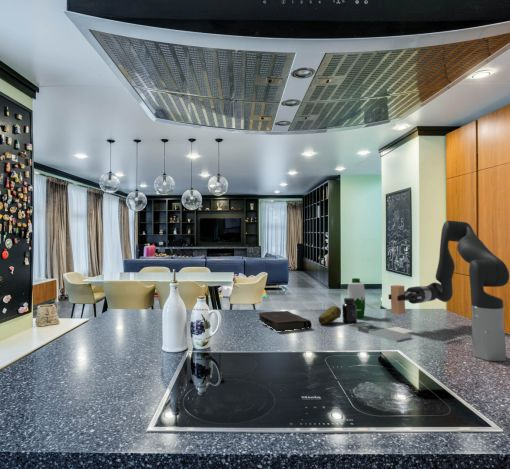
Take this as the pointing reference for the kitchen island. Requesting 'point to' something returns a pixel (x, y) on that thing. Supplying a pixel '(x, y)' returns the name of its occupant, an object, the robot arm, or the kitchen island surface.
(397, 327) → the pad
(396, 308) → the block
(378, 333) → the grey slotted base
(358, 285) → the green and white bottle
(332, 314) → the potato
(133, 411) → the kitchen island surface
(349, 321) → the supplement bottle
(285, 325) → the diary
